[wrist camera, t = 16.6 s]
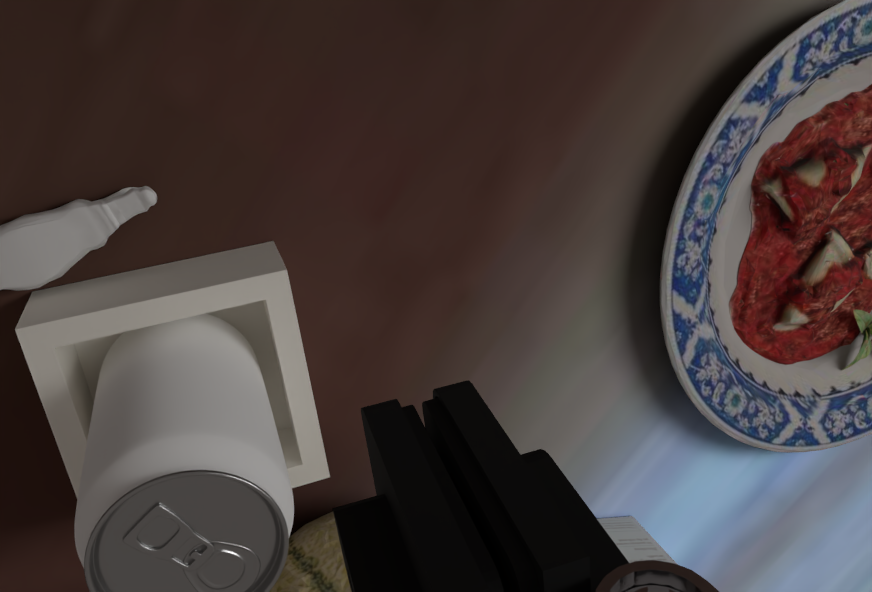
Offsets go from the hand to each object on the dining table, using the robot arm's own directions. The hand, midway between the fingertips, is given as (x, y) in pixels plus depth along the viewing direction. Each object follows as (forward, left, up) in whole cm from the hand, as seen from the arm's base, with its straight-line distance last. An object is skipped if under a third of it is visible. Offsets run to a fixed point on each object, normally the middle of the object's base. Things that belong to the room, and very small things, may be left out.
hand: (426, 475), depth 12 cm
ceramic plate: (-31, +9, -23) cm, 39 cm away
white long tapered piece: (+11, +2, -23) cm, 26 cm away
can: (+5, +8, -22) cm, 24 cm away
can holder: (+5, +8, -23) cm, 24 cm away
